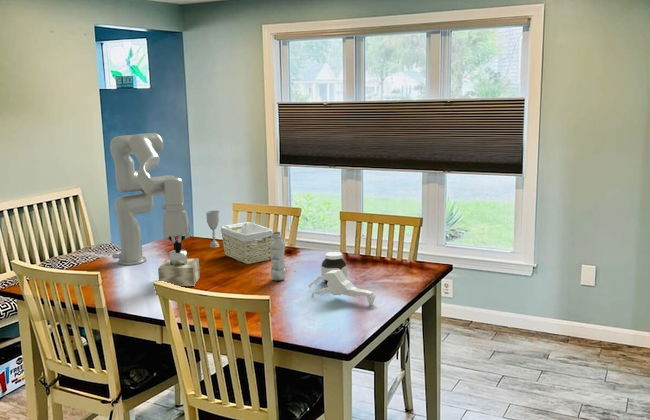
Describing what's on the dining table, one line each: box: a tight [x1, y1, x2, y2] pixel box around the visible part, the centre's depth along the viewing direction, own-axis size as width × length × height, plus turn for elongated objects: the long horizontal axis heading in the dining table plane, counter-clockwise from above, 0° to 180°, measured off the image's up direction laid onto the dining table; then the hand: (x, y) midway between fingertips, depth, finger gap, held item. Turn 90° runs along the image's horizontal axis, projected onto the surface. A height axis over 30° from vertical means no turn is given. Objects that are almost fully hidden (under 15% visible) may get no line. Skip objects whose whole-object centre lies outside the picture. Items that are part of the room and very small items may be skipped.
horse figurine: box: [308, 270, 377, 306], centre depth 228 cm, size 5×16×25 cm
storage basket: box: [220, 221, 274, 265], centre depth 289 cm, size 24×16×15 cm
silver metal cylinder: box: [168, 249, 188, 266], centre depth 253 cm, size 7×7×12 cm
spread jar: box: [320, 251, 348, 283], centre depth 251 cm, size 12×11×12 cm
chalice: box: [204, 210, 220, 248], centre depth 312 cm, size 7×7×18 cm
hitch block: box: [157, 257, 201, 287], centre depth 254 cm, size 14×14×8 cm
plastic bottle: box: [270, 231, 287, 281], centre depth 252 cm, size 6×7×20 cm
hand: (178, 251), depth 252 cm, fingers closed
